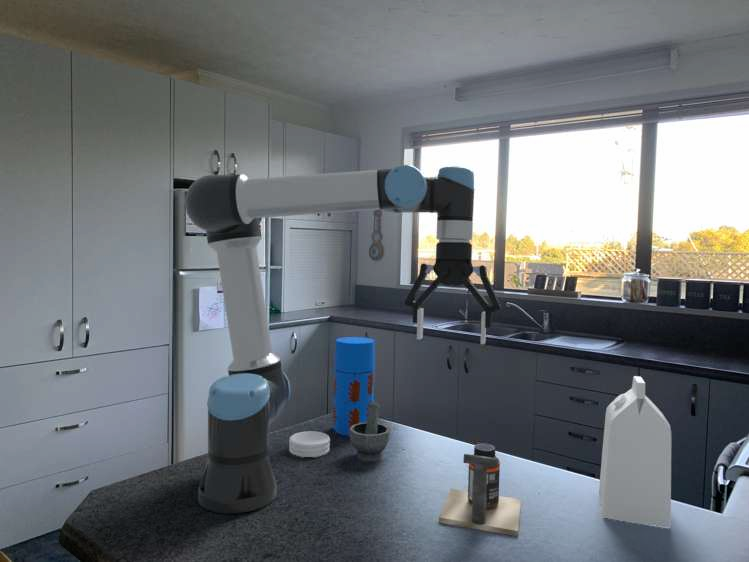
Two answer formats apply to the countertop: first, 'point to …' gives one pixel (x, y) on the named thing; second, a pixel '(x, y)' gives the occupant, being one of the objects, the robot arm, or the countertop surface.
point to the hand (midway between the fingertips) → (450, 341)
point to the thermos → (353, 382)
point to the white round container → (309, 444)
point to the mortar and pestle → (370, 436)
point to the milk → (636, 460)
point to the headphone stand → (481, 504)
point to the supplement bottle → (492, 476)
